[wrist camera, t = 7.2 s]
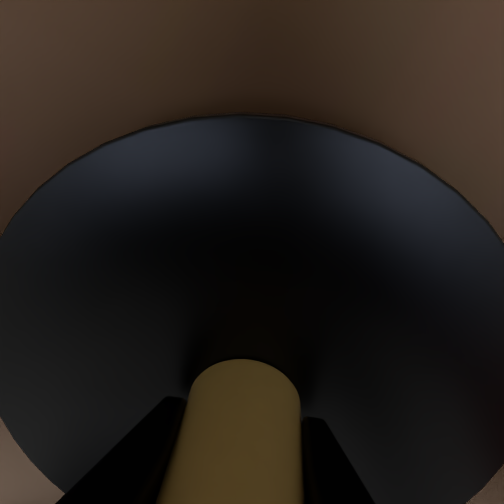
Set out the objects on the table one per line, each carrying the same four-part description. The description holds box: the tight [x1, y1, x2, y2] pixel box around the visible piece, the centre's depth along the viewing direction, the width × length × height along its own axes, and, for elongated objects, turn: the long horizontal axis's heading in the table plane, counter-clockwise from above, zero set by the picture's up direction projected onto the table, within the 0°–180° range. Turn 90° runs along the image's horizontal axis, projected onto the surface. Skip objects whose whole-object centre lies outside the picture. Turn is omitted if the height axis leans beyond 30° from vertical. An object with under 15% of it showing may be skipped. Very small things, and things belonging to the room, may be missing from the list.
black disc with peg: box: [0, 112, 504, 504], centre depth 7 cm, size 12×12×6 cm
